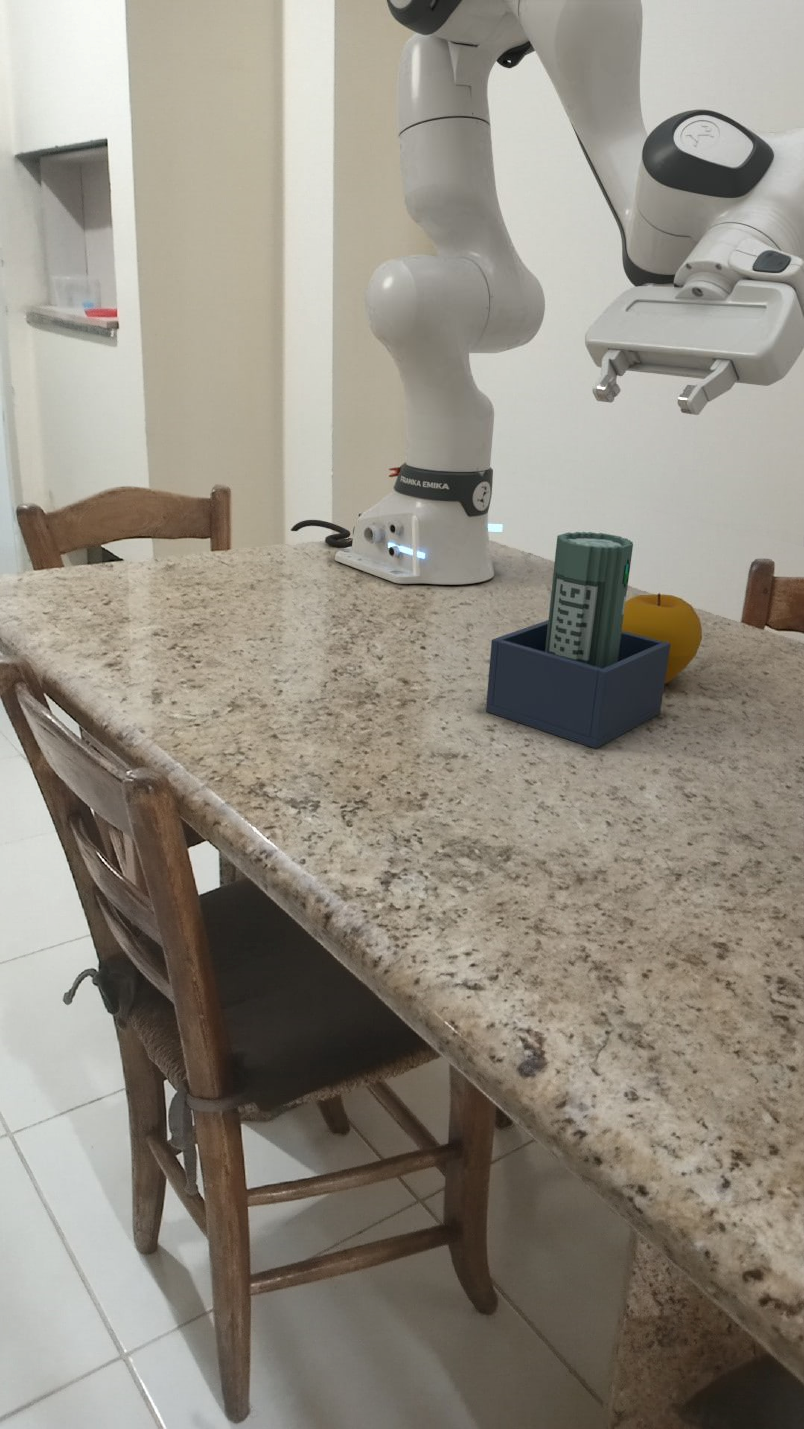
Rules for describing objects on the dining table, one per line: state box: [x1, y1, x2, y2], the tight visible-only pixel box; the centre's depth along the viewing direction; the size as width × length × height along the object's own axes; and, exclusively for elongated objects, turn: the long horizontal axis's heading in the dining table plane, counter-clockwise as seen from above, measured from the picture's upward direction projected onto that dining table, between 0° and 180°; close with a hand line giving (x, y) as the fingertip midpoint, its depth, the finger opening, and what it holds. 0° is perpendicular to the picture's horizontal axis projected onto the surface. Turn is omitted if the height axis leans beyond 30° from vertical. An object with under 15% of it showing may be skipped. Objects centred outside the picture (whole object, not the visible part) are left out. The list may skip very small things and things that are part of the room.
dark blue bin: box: [485, 619, 671, 750], centre depth 91 cm, size 11×11×7 cm
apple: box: [622, 592, 703, 684], centre depth 100 cm, size 9×9×9 cm
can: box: [545, 531, 634, 669], centre depth 89 cm, size 6×6×15 cm
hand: (641, 402), depth 90 cm, fingers open, 8 cm apart
